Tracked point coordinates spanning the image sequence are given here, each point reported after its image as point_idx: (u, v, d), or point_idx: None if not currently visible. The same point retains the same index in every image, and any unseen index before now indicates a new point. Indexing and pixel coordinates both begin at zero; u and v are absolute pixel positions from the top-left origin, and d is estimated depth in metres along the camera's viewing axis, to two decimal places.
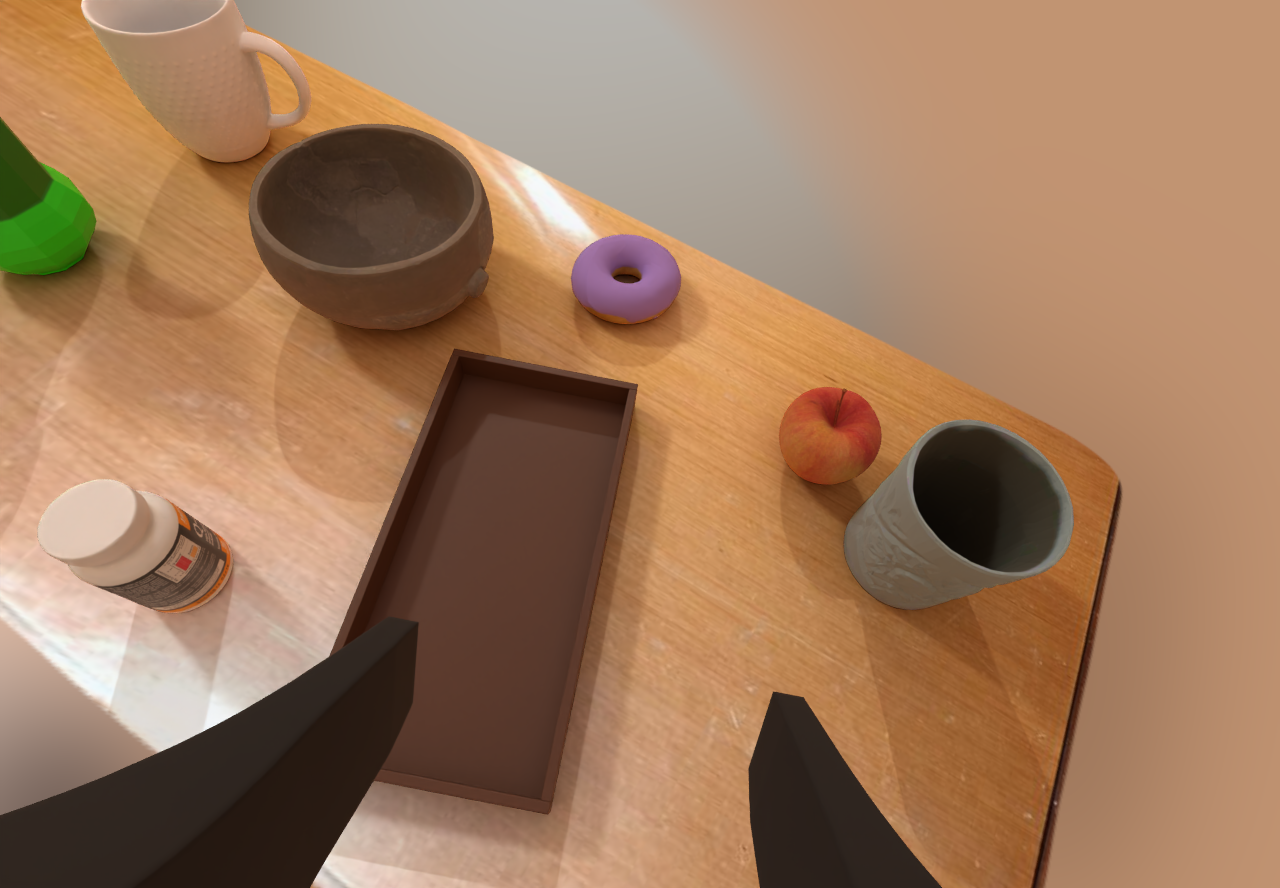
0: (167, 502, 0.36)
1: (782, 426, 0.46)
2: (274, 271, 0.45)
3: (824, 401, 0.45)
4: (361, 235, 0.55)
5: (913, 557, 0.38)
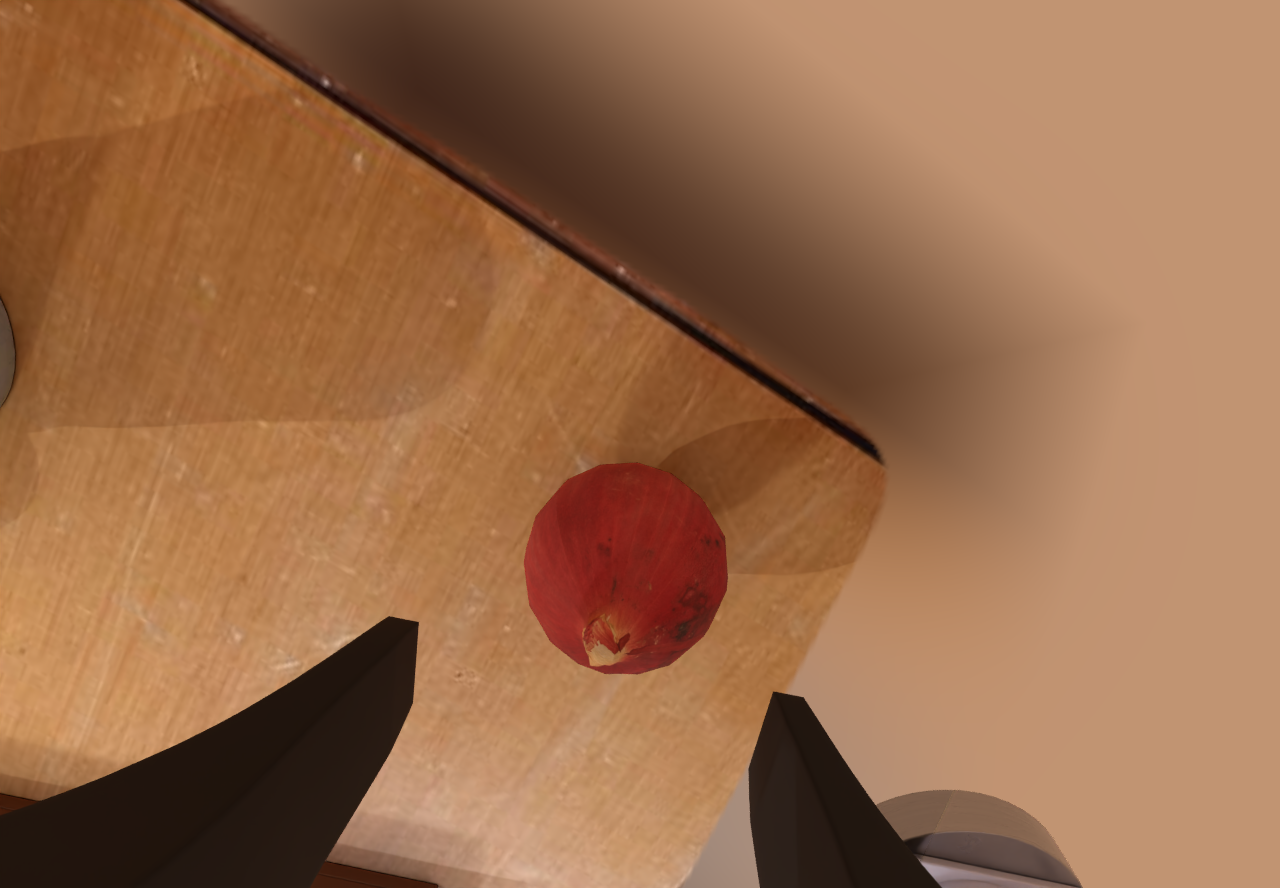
0: None
1: None
2: None
3: None
4: None
5: None
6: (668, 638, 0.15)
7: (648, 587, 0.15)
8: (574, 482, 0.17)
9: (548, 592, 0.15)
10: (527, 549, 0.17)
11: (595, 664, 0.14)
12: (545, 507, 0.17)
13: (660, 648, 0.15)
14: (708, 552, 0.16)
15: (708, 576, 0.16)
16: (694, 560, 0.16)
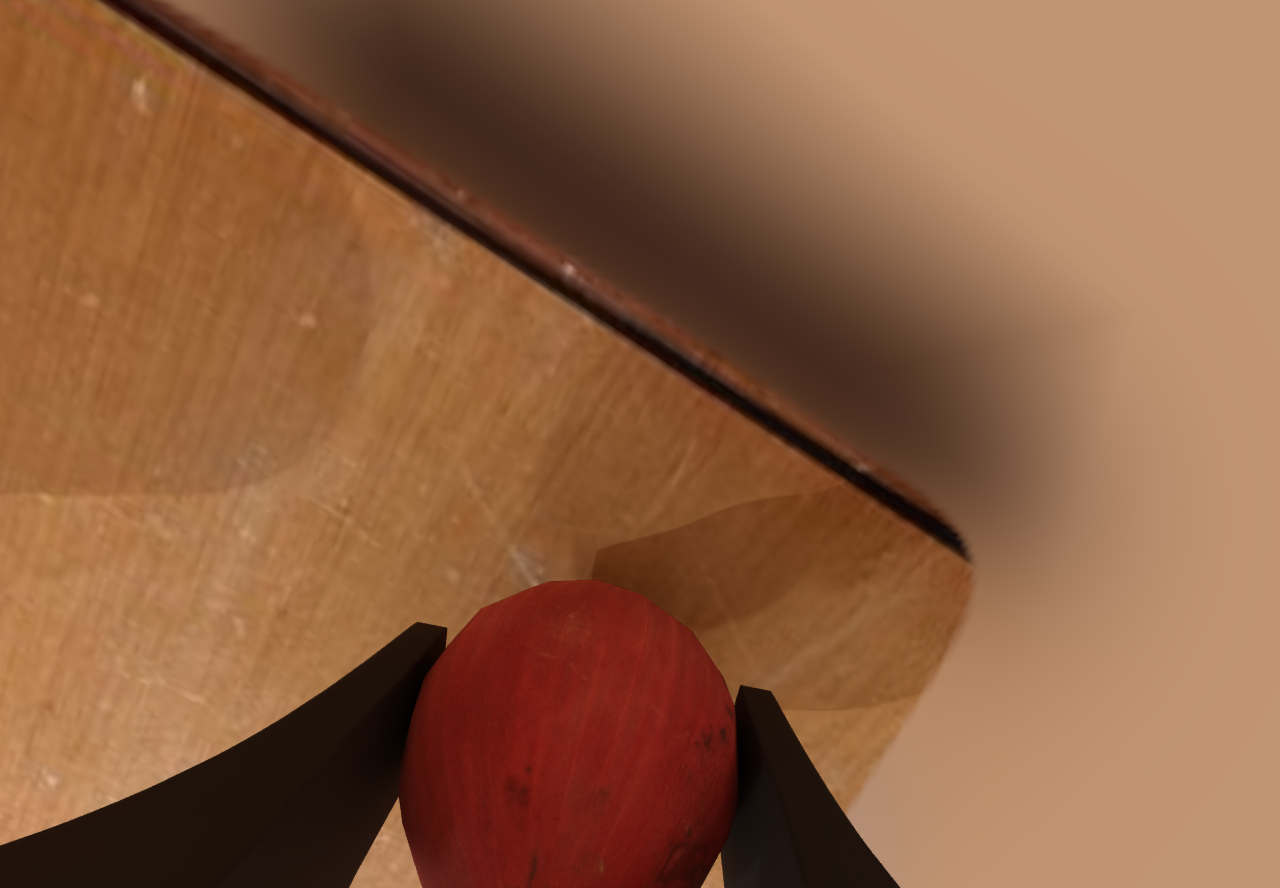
0: None
1: None
2: None
3: None
4: None
5: None
6: None
7: (597, 867, 0.08)
8: (484, 627, 0.10)
9: (423, 852, 0.09)
10: (407, 737, 0.10)
11: None
12: (437, 667, 0.10)
13: None
14: (708, 763, 0.09)
15: (708, 807, 0.09)
16: (684, 789, 0.09)
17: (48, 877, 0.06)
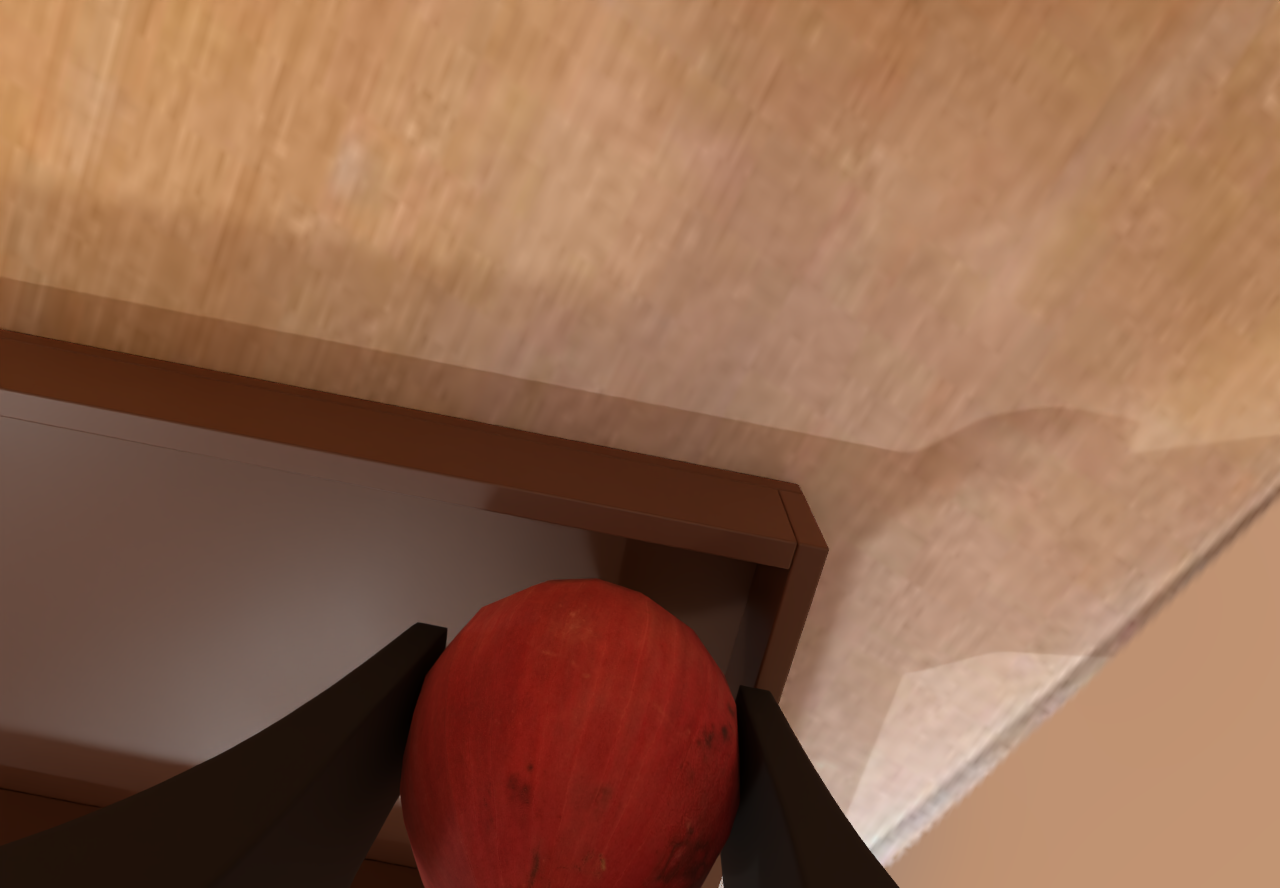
0: None
1: None
2: None
3: None
4: None
5: None
6: None
7: (599, 866, 0.08)
8: (485, 626, 0.10)
9: (425, 850, 0.09)
10: (408, 736, 0.10)
11: None
12: (438, 665, 0.10)
13: None
14: (710, 761, 0.09)
15: (710, 805, 0.09)
16: (686, 788, 0.09)
17: (50, 876, 0.06)
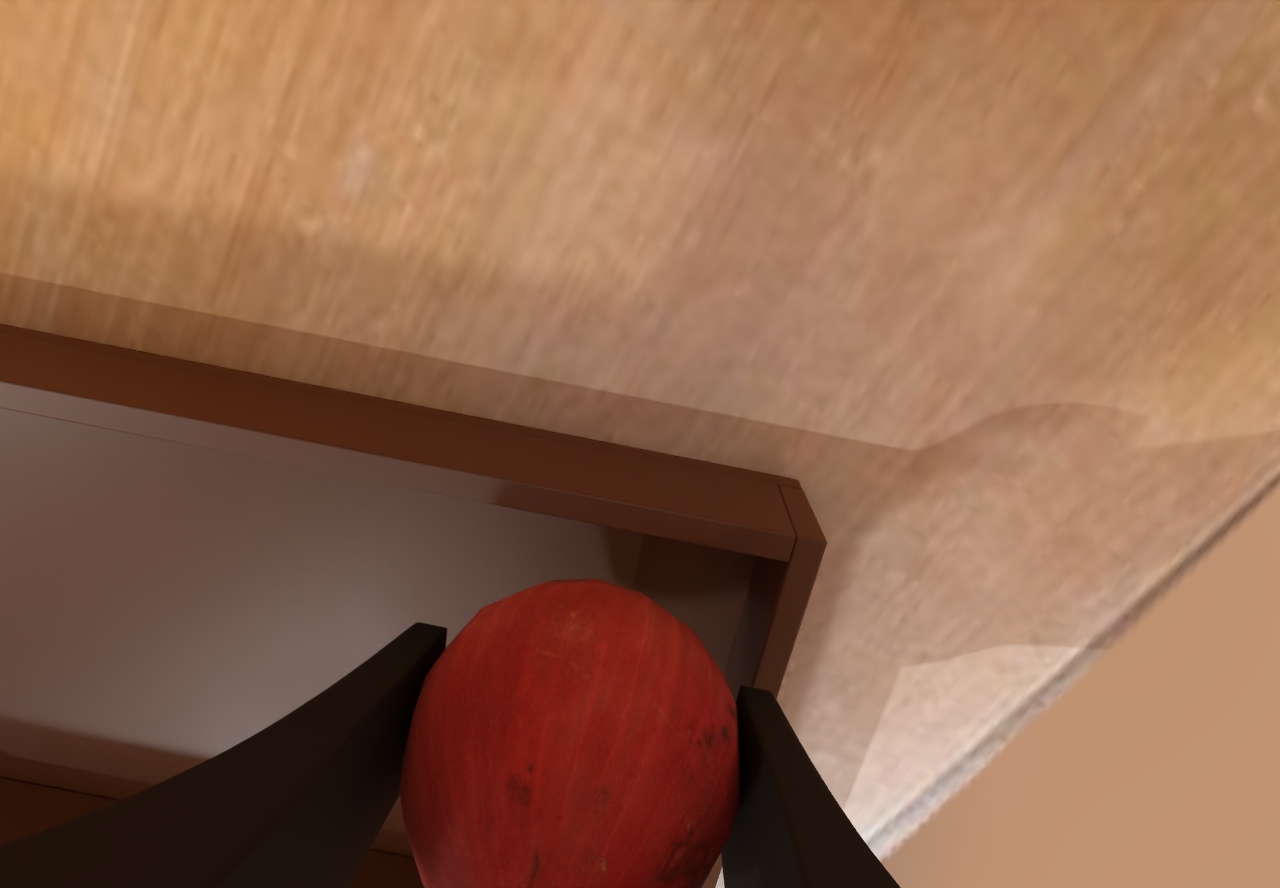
0: None
1: None
2: None
3: None
4: None
5: None
6: None
7: (599, 867, 0.08)
8: (485, 626, 0.10)
9: (425, 851, 0.09)
10: (408, 736, 0.10)
11: None
12: (438, 666, 0.10)
13: None
14: (710, 763, 0.09)
15: (710, 806, 0.09)
16: (686, 788, 0.09)
17: (50, 876, 0.06)
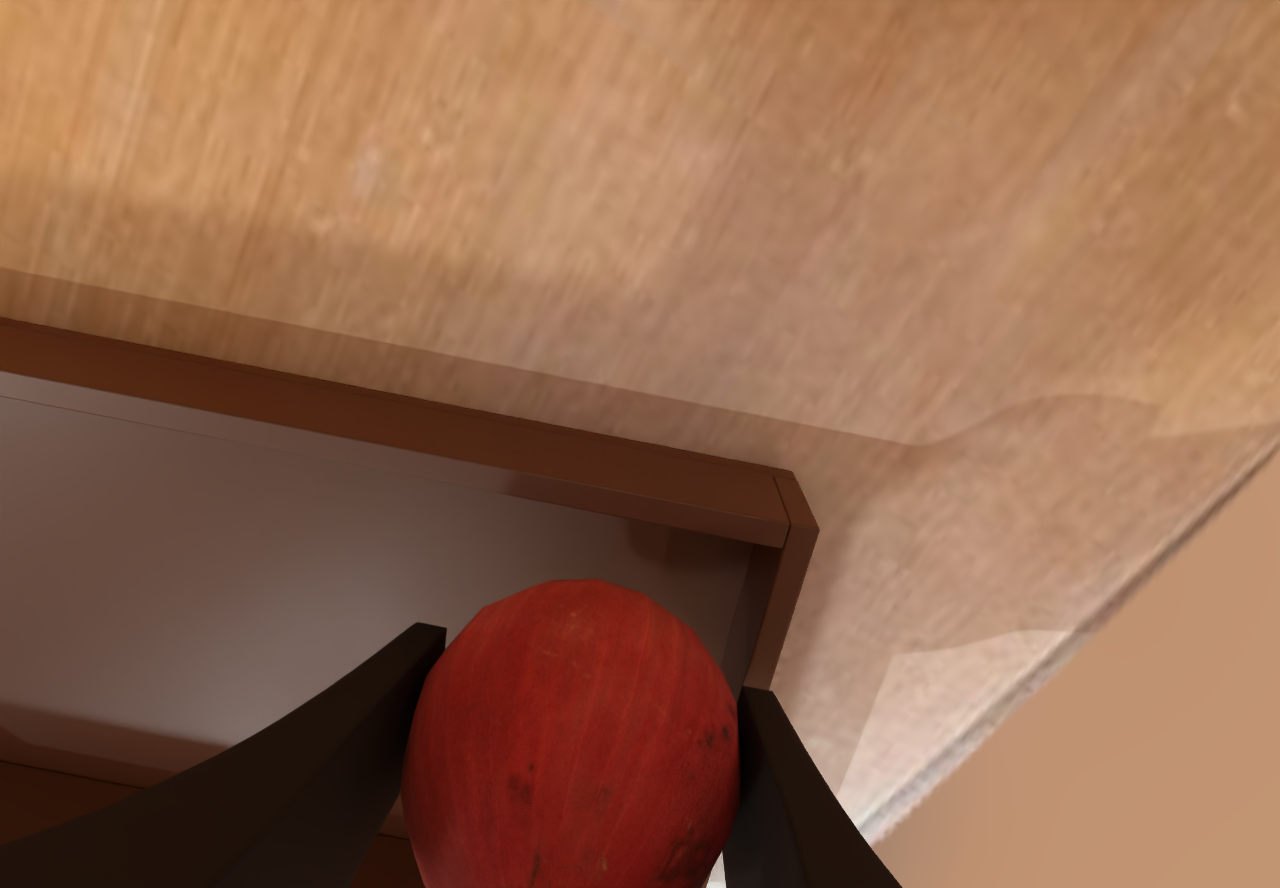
0: None
1: None
2: None
3: None
4: None
5: None
6: None
7: (600, 866, 0.08)
8: (486, 626, 0.10)
9: (425, 850, 0.09)
10: (409, 736, 0.10)
11: None
12: (439, 665, 0.10)
13: None
14: (710, 761, 0.09)
15: (711, 806, 0.09)
16: (686, 788, 0.09)
17: (49, 876, 0.06)
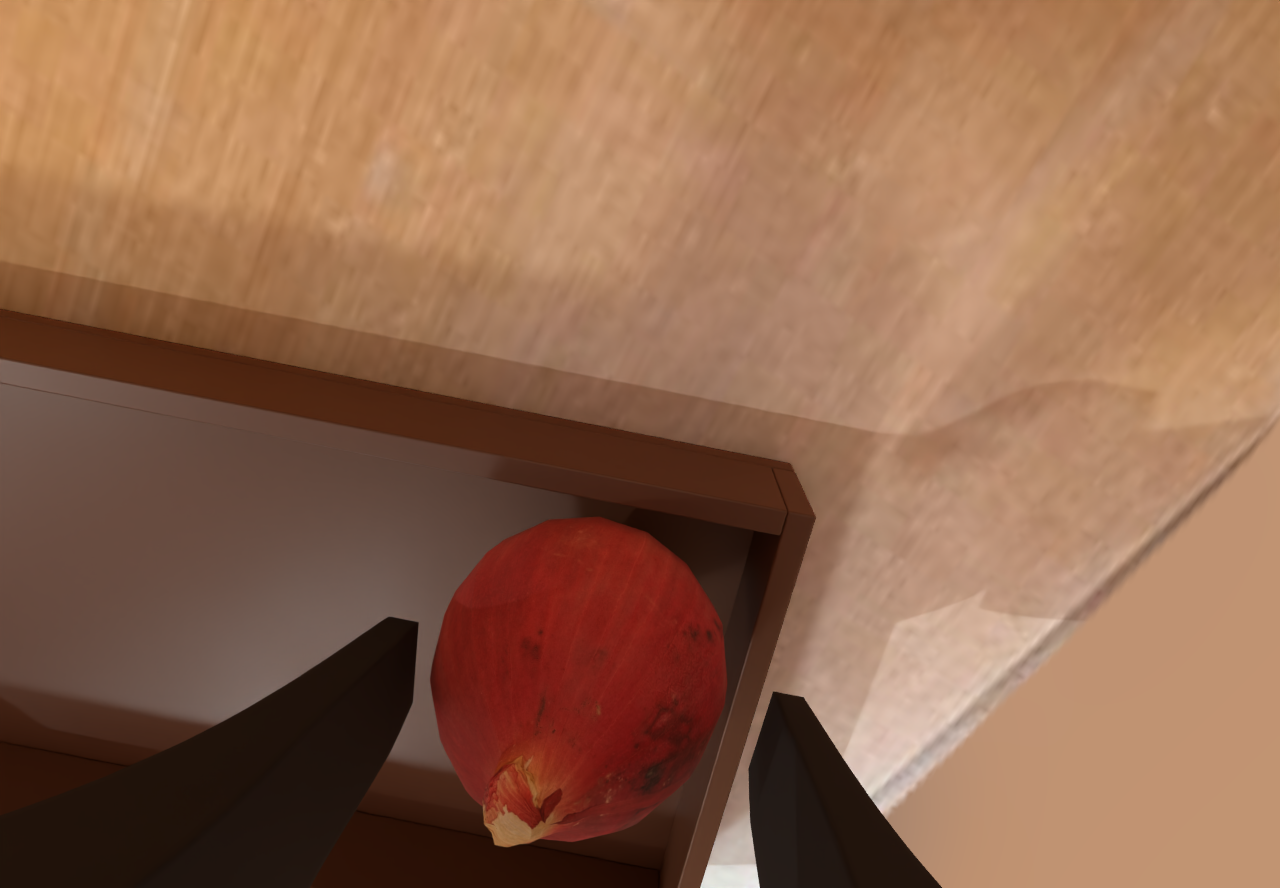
0: None
1: None
2: None
3: None
4: None
5: None
6: (627, 792, 0.10)
7: (595, 710, 0.09)
8: (507, 543, 0.12)
9: (450, 711, 0.10)
10: (438, 640, 0.12)
11: (502, 844, 0.09)
12: (466, 579, 0.12)
13: (615, 808, 0.10)
14: (694, 651, 0.11)
15: (694, 688, 0.11)
16: (672, 665, 0.10)
17: None
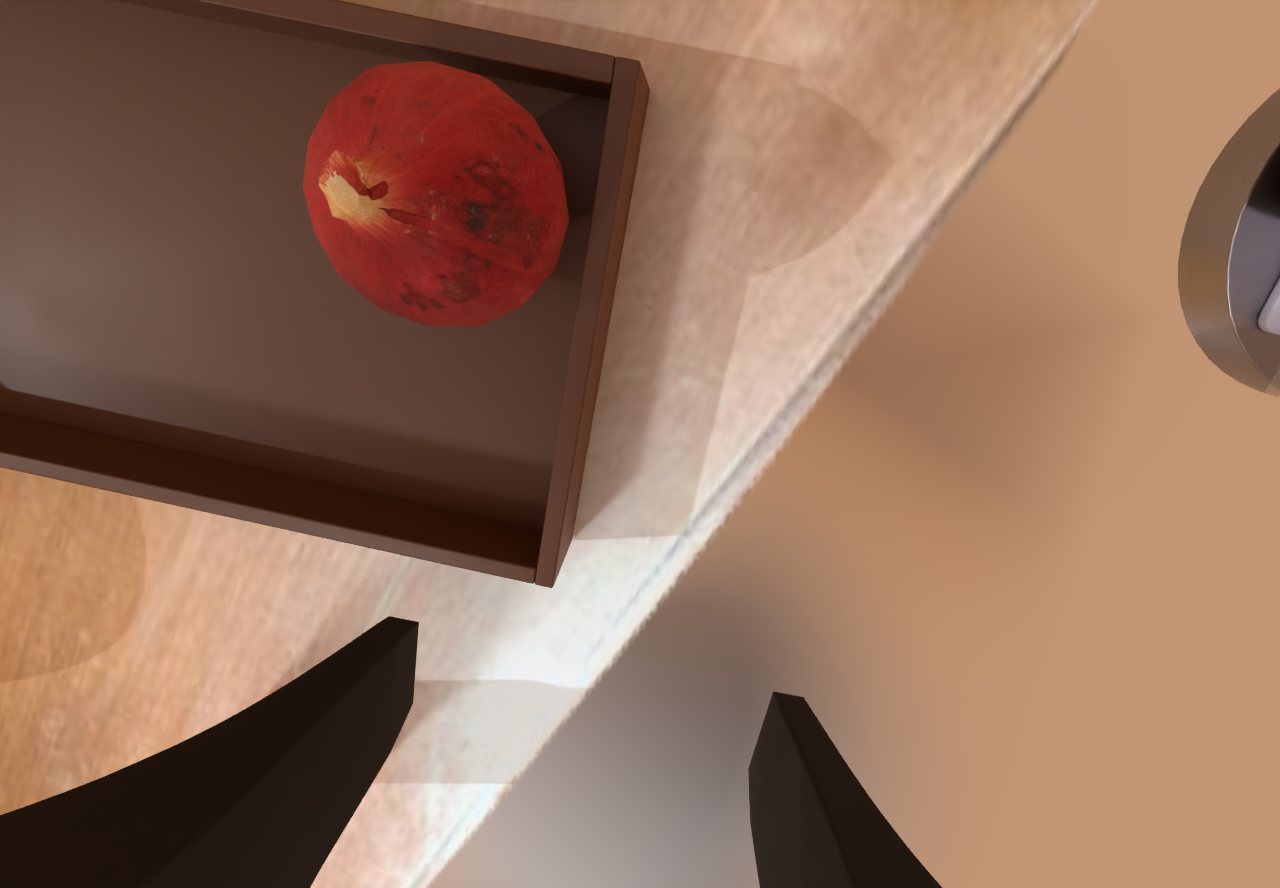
0: None
1: None
2: None
3: None
4: None
5: None
6: (452, 218, 0.12)
7: (419, 138, 0.12)
8: None
9: (311, 173, 0.12)
10: None
11: (337, 210, 0.11)
12: None
13: (442, 230, 0.12)
14: (519, 141, 0.13)
15: (517, 167, 0.13)
16: (494, 137, 0.12)
17: None
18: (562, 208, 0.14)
